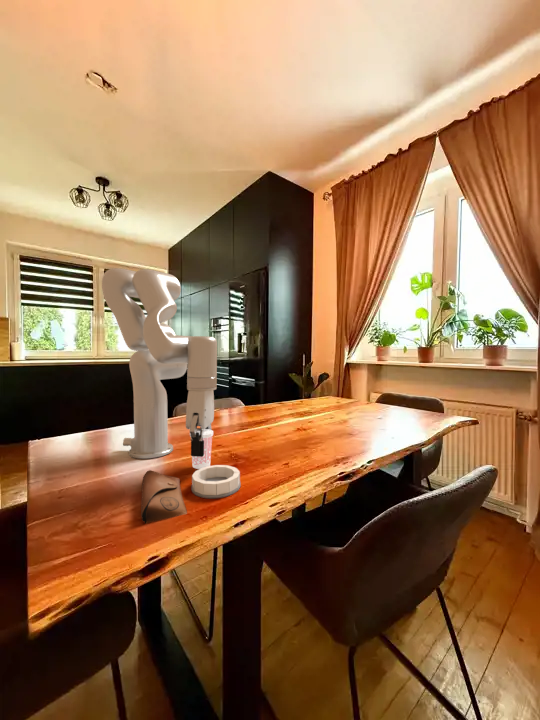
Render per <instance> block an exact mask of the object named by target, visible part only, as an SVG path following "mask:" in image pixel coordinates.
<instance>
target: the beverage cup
mask: <svg viewBox="0 0 540 720" xmlns="http://www.w3.org/2000/svg"><path fill="white" fill-rule="evenodd" d="M197 432H198V433H199V435H200V431H197ZM213 436H214V430H210V429H204V433H203V440H204V456H203V457H197V456H191V463H192V468H194V469H195V470H196V469H197V470H199V469H201V468H203V467H207V466H211V459H212V457H211V456H212V443H213ZM189 437H190V438H191V436H190V435H189Z"/></svg>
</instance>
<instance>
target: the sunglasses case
mask: <svg viewBox="0 0 540 720" xmlns="http://www.w3.org/2000/svg"><path fill="white" fill-rule="evenodd" d="M141 484H142V485H141V486H142V488H141V504H140V506H141V507H140V509H141V511H140V517H141V521H142V522H143V523H144V524H149V523H154V522H158V521H162V520H167V519H172V518H176V517H179V516H184V515H187V514H188V511H187V507H186V504H185V502H184V497H183V493H182V488H181V479H180V478H179V477H176V476H170V475H166V474H162V473H159V472H157V471H154V470H151V469H149V470H147V471H146V472H145V473H144V475H143V477H142V482H141Z"/></svg>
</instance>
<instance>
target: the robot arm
mask: <svg viewBox="0 0 540 720" xmlns="http://www.w3.org/2000/svg"><path fill="white" fill-rule="evenodd" d="M101 279H102V280H101V289H102V290H101V291H102V295H103V298H104V301H105V303H106V305H107V306H108V308H109V310H110V311H111V312H112V315H114V317H115V320H116V322H117V325H118V327H119V331H120V332H121V335H122V338H123V340H124V342H125V345H126V346H127V347H128V349H130V350H131V351H134V353H132V355H131V356H130V358H129V363H128V365H129V371H130V375H131V382H132V391H133V421H134V422H133V426H134V430H133V431H134V434H133V435H134V437H133V438H132V437H124V438H123V440H122V446H123V447H129V446H130V449H129V450H128V455H129V457H131V458H135V459H147V460H148V459H154V458H160V457H163V456H166V455H168V454H171V453H172V452H173V451H174V445H173V444H172V443H169V442H168V441H169V435H168V433H169V432H168V394H167V390H166V388H165V387H164V385H163V383H162V382H161V380H170V379H171V380H172V379H179V378H181V377H184V375H185V374H186V373H187V374H186V375H187V377H186V378H187V379H186V383H187V384H186V390H187V391H188V392H187V398H186V399H187V400H186V411H185V413H186V414H185V428H186V430H189V437H190V436H191V437H190V457H192V456H197V457H203V456H204V440H203V433H204V429H210V430H212V423H213V422H214V419H215V395H214V391H215V390H217V388H218V387H217V382H218V380H217V378H218V377H217V376H218V372H217V371H218V369H217V368H218V341H217V338H215V337H213V336H208V335H207V336H206V335H205V336H201V335H197V336H196V335H195V336H194V335H193V336H191V335H179V334H178V335H176V333H175V331H174V329H173V327H171V326H170V325H168V324H166V323H165V322H167V321H169V320H170V319H172V318H174V316H175V315H176V314H177V310H178V306H177V303H176V302H175V301H176V300H177V299H178V298H179V296H180V295H181V291H182V287H181V284H180V281H179V280H178V278H177V277H176V276H175V275H173V274H170V273H166V272H162V271H158V270H154V269H149V268H147V269H146V268H143V269H139V270H137V271H136V270H131V269H127V268H121V267H120V268H119V267H118V268H117V267H115V268H114V267H113V268H110V269H108V270H106V271H105V272H104V274H103V275H102V278H101ZM132 298H136V299H139V300H140V302H141V304H142V306H143V308H144V310H145V312H146V314H147V315H146V316H145V312H144V311H143V308H141V306H140V305H139V304H138V303H137V302H136V301H135V300H133V299H132ZM197 431H200V435H199V433H198V432H197Z"/></svg>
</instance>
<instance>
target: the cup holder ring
mask: <svg viewBox="0 0 540 720" xmlns="http://www.w3.org/2000/svg"><path fill="white" fill-rule="evenodd" d="M191 483H192V484H191V493H192V494H193V495H195V496H197V497H200V498H202V499H221V498H226V497H230V496H232V495H233V494H235V493H237V492H238V491H239V490H240V488H241V471H240V470H239V469H238V468H237V467H235V466H231V465H227V464H214V465H210V466H207V467H203V468H201V469H197V470H196V469H195V471H194V472H193V474H192V475H191Z"/></svg>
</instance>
